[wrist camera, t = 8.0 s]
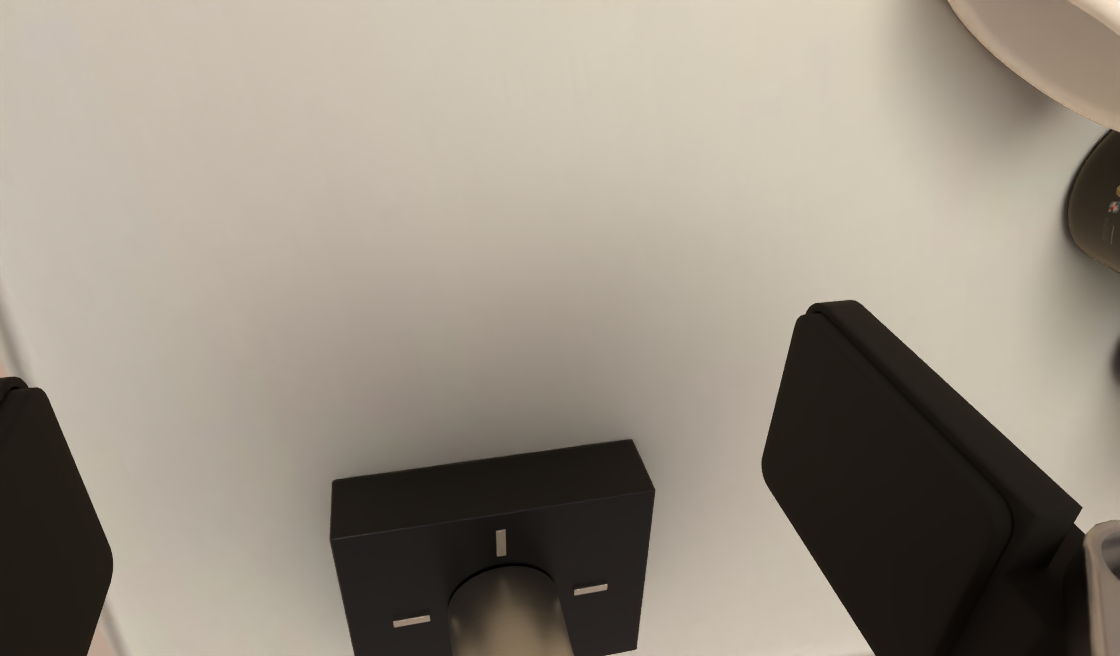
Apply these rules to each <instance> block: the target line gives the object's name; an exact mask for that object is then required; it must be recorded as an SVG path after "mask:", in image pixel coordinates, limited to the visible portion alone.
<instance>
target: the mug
mask: <svg viewBox="0 0 1120 656" xmlns="http://www.w3.org/2000/svg"><path fill="white" fill-rule="evenodd" d="M948 2H949V4H950V5H951V7H952V9H953V10H954V12H955V13H956V15H957V16H958V17H959V19H960V20H961V21H962V23H963V24H964V25H965V26H966V27H967V29H968V30H969V31H970V32H971V33H972V34H973V35H974V36H975V37H976V38H977V39H978V40H979V41H980V42H981V43H982V44H983V45H984V46H985V47H986V48H987V49H988V50H989V51H990V52H991V53H992V54H993V55H994V56H995V57H997V58H998V59H999V60H1000V61H1001V62H1002V63H1004V64H1005V65H1006V66H1007V67H1009V68H1010V69H1011V70H1012V71H1014V72H1015V73H1016V74H1018V75H1019V76H1020V77H1021V78H1023V79H1024V80H1026V81H1027V82H1028V83H1030V84H1031V85H1033V86H1034V87H1036V88H1037V89H1038V90H1040V91H1041V92H1043V93H1044V94H1046V95H1048V96H1049V97H1051V98H1052V99H1054V100H1056V101H1057V102H1059V103H1061V104H1062V105H1064V106H1066V107H1067V108H1069V109H1071V110H1073V111H1075V112H1076V113H1078V114H1080V115H1082V116H1084V117H1086V118H1088V119H1090V120H1092V121H1094V122H1096V123H1099V124H1101V125H1103V126H1105V127H1108V128H1110V129H1113V130H1115V131H1118V132H1120V0H948Z"/></svg>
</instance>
